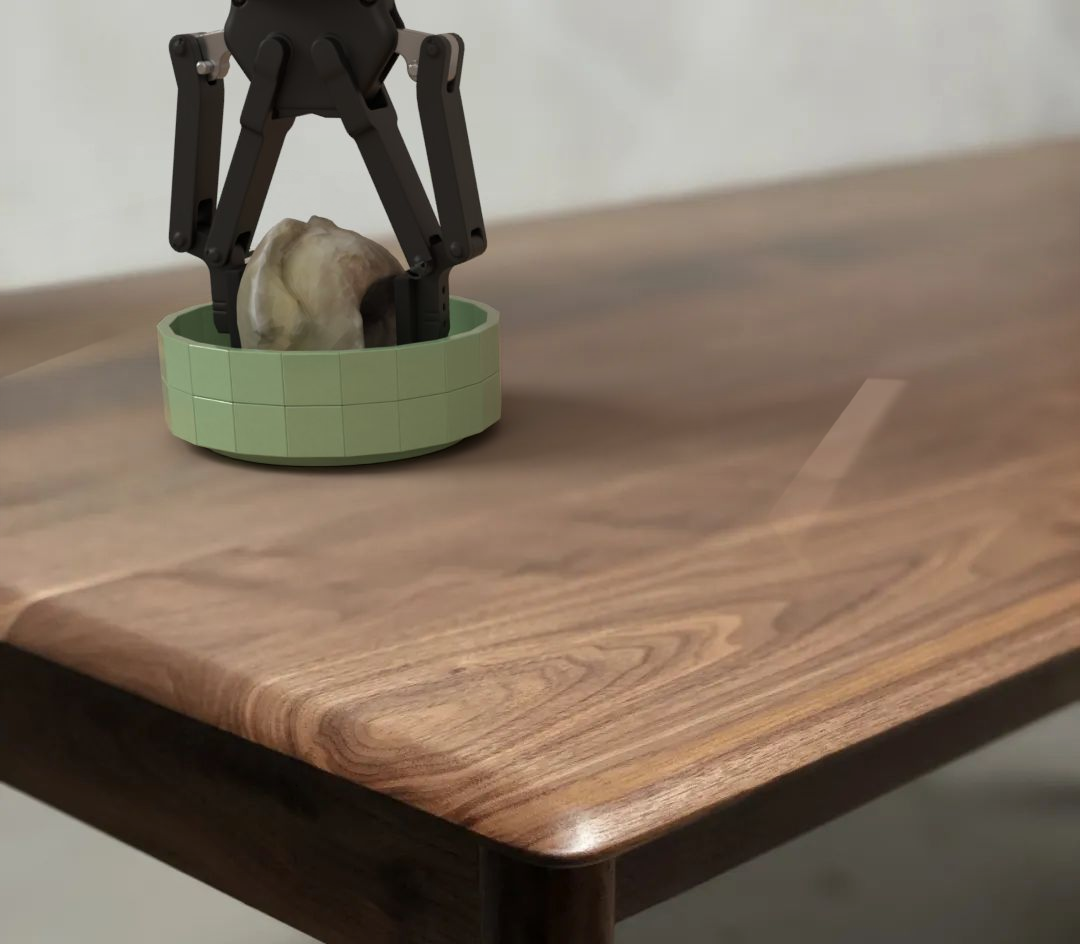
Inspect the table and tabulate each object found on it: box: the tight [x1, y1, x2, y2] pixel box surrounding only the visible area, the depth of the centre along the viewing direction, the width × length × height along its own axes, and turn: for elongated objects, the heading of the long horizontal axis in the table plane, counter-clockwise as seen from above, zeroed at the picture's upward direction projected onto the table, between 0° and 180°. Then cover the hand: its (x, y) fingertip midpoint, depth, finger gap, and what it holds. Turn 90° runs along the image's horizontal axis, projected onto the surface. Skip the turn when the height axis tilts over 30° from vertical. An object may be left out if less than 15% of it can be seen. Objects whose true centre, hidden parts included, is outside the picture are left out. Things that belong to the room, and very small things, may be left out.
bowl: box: [156, 294, 503, 467], centre depth 89 cm, size 16×16×6 cm
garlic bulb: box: [237, 214, 406, 351], centre depth 88 cm, size 9×8×10 cm
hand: (335, 404), depth 90 cm, fingers closed on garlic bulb, 8 cm apart
